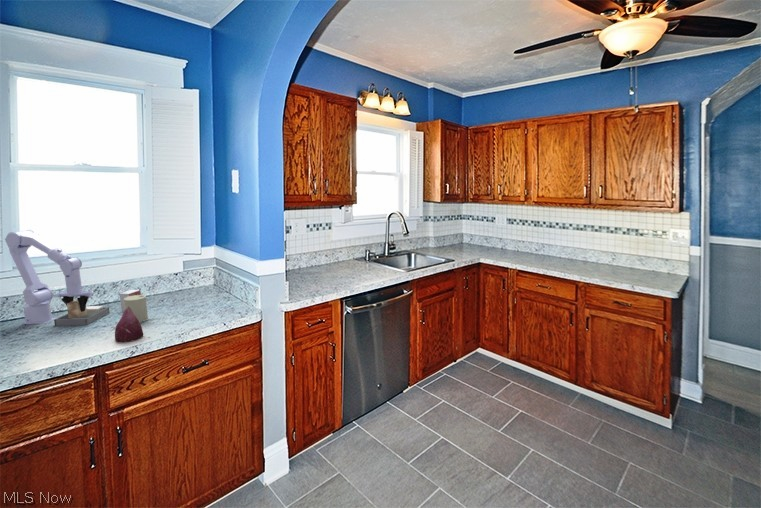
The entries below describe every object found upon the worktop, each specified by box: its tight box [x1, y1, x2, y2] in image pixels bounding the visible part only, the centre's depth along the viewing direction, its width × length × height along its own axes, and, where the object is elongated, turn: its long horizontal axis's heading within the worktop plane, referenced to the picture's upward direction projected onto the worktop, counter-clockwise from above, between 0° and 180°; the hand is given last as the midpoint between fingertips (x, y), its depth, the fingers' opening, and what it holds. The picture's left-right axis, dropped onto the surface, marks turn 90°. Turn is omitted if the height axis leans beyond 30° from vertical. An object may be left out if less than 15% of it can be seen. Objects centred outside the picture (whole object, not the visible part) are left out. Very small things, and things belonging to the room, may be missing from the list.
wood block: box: [66, 299, 87, 318], centre depth 189 cm, size 4×6×7 cm
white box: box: [81, 305, 105, 317], centre depth 198 cm, size 10×5×4 cm, turn 95°
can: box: [124, 294, 149, 323], centre depth 193 cm, size 9×9×12 cm
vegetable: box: [114, 306, 144, 344], centre depth 172 cm, size 10×10×15 cm
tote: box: [53, 306, 110, 327], centre depth 193 cm, size 14×18×4 cm
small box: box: [119, 289, 142, 313], centre depth 207 cm, size 8×6×10 cm
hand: (77, 311), depth 189 cm, fingers closed on wood block, 4 cm apart
